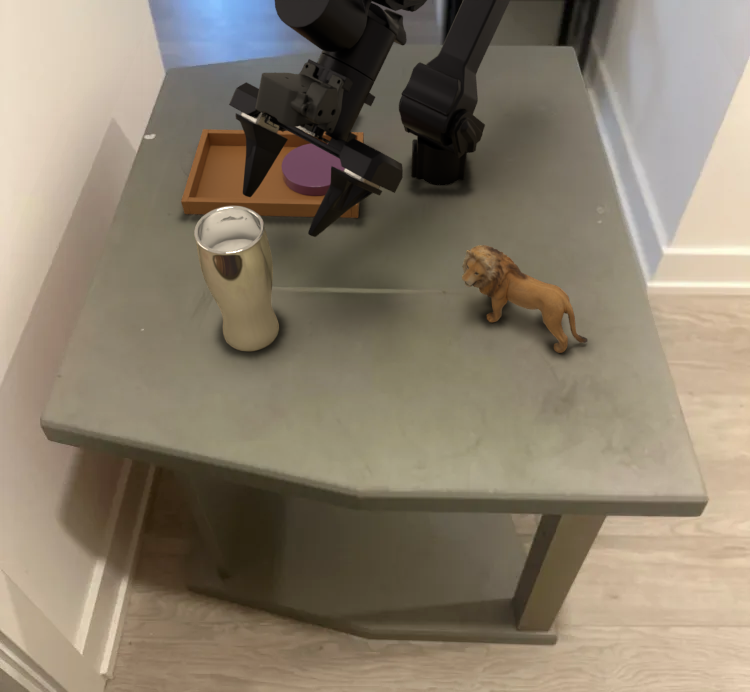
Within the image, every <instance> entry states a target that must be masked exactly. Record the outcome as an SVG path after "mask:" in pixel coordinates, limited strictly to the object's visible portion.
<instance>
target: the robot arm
mask: <svg viewBox="0 0 750 692" xmlns="http://www.w3.org/2000/svg"><path fill="white" fill-rule="evenodd" d="M427 1H428V0H274V8H275V11H276V14H277V16H278V18H279V20H280V21H281V22H282V23H284V24H285V25H286V26H287V27H289V28H290V29H292V30H293V31H294V32H296V33H297V34H299V35H300V36H302V38H304V39H306V40H307V41H308V42H310V43H311V44H312V45H314V46H316V47H317V48H318V49H319V50H321V53H320V54H319V57H318V59H317V61H314V60H312V59H310V58H308V60H307V61H306V62H305V63H304V64H303V65H302V68H301V71H300V72H299V73H292V72H262V73H261V76H260V82H259V86H258V87H257V86H254V85H253V84H251V83H249V82H244V83H242V84H241V85H239V86H237V87H236V88H235V90H234V92H233V94H232V97H231V98H230V101H229V103H228V106H230V107H232V108H233V109H235V110H237V111H239V112H240V114H239V113H237V112H236V113H235V119H236V120H237V121H239V123H240V125H241V127H242V130H244V133H245V136H246V160H245V171H244V182H243V195H245V196H247V197H252V195H253V194H254V193H255V191H256V190H257V189H258V187H259V186H260V185H261V183H262V181H263V180H264V178H265V176H266V175H267V173H268V171H269V170H270V168H271V166H272V165H273V163H274V161H275V160H276V158H277V157H278V155H279V153H280V152H281V150H282V148H283V147H284V145H285V143H286V142H287V140H288V139H287V138H285V137H283V136H281V135H279V134H278V133H277V132H278V130H280V131H282V132H284V131H286V130H287V131H289V132H291V133H293V134H295V135H297V136H299V137H300V138H302V139H304V140H306V141H308V142H310V143H311V144H313V145H315V146H317V147H319V148H321V149H323V150H324V151H326V152H328V153H330V154H332V155H334V156H335V157H337V158H339V159H340V161H341V166H342V167H344V168H345V169H344V171H342V170H339V169H337V168H335V167H333V166H331V183H330V186H329V188H328V190H327V192H326V194H325V196H324V198H323V200H322V202H321V204H320V206H319V208H318V210H317V212H316V214H315V216H314V217H312V218H313V219H312V221H311V224H310V226H309V229H308V232H307V234H308V236H310V237H314V238H316V237H318V236H319V235H320V234H321V233H323V232H324V231H325V230H326V229H327V228H329V227H330V226H331V225H332V224H334V222H336V221H337V220H338V219H340V218H341V217H340V216H341V215H343V214H344V213H345V212H346V211H348V210H349V209H350V208H352V207H353V206H354V205H356V204H357V203H359V204H360V203H361V202H362V201H364V200H365V199H367V198H368V197H370V196H371V195H373V194H375V195H377V196H381V195H382V194H383V190H382V189H380V188H383V189H385V190H387V191H389V192H391V193H394V194H395V193H396V192H397V190H398V188H399V186H400V184H401V181H402V180H403V175H404V173H403V172H404V169H403V163H401V162H400V161H397V160H396V159H394V158H393V157H391V156H389V155H387V154H385V153H383V152H381V151H380V150H378V149H375V148H374V147H372V146H369V145H368V144H366V143H365V142H364V143H362V142H360V141H358V140H356V139H355V138H356V136H357V135H355V134H353V133H351V132H352V129H353V128H354V127H355V126H354V125H355V124H356V122H357V119H358V117H359V115H360V113H361V111H362V109H363V107H364V105H367V106H369V107H372V106H373V103H374V101H375V99H376V95H374V94H372V93H371V91H372V88H373V87H374V84H375V82H376V80H377V78H378V76H379V75H380V72H381V70H382V68H383V65H384V64H385V62H386V60H387V57H388V55H389V54H390V51H391V49H392V47H393V45H394V43H396V44H398V45H400V46H405V45H406V43H407V41H408V40H407V32H406V29H405V26H404V15H402V14H400V13H398V12H397V11H400V10H403V11H405V12H411V13H413V12H416V11H417V10H419V9H420V8H422V7H423V6H424V5H425V4H426V2H427ZM510 2H511V0H462V2H461V4H460V6H459V8H458V11H457V13H456V15H455V17H454V20H453V22H452V24H451V26H450V29H449V30H448V32H447V35H446V37H445V39H444V42H443V44H442V45H441V48H440V51H439V53H438V54H437V55H436V56H434V57H433V58H432V59H431V60H430V61H428V62H427V63H426V64H425V63H423V62H421V61H420V62H418V63H417V64H416V65H415V66H414V67H413V68H412V72H411V74H410V77H409V80H408V82H407V84H406V86H405V87H404V88H403V90H402V92H401V96H400V98H399V102H398V112H399V115H400V121H401V124H402V125H403V128H404V131H405V132H406V133H408V134H412V135H413V136H415V137H416V138H414V139H412V142H411V143H412V145H411V165H410V167H411V168H410V169H411V171H410V173H411V175H410V176H411V177H412V179H413V178H415V179H416V180H422V181H423V182H425V183H427V184H430V185H432V186H443V187H444V186H449V185H452V184H454V183H456V182H458V181H464V180H465V175H466V166H467V158H468V154H472V153H474V152H476V150H477V145H478V143H479V142H481V140H482V137H483V134H484V130H485V128H486V124H485V123H484V122H483V121H481V120H480V119H479V118H477V116H475V114H474V113H475V110H476V107H477V105H478V101H479V98H478V97H479V96H478V85H477V83H478V82H477V74H478V71H479V68H480V67H481V64H482V62H483V60H484V58H485V55H486V53H487V51H488V49H489V47H490V44H491V43H492V40H493V38H494V36H495V34H496V32H497V29H498V27H499V25H500V23H501V21H502V19H503V17H504V15H505V13H506V10H507V9H508V6H509V5H510ZM381 6H382V7H385V8H386V9H383V8H382V7H381ZM305 124H307V125H309V126H311V127H313V128H312V130H311V131H309V130H307V129H306V128H304V126H305ZM313 125H314V126H313ZM325 131H326V133H325V134H326V135H328V136H330V137H332V138H331V140H330V141H329V140H327V139H325V138H323V137H322V136H323V134H324V132H325ZM309 134H310V135H309ZM311 135H312V136H311ZM313 136H314V137H313ZM315 137H316V138H315ZM317 138H318V139H317ZM319 139H320V140H319ZM321 140H322V141H324V142H326V143H327V144H326V143H324V142H322V141H321Z"/></svg>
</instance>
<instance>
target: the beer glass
mask: <svg viewBox="0 0 750 692" xmlns="http://www.w3.org/2000/svg"><path fill="white" fill-rule="evenodd" d="M193 234H194V239H195V243H196V251H197V256H198V257H197V258H198V262H199V267H200V270H201V273H202V276H203V280H204V281H205V284H206V286H207V289H208V290H209V292H210V294H211V296H212V298H213V300H214V301H215V302H216V304H217V307H218V309H219V310H220V313H221V316H222V334H223V338H224V340H225V342H226V343H227V344H228V345H229V346H230V347H231V348H232V349H235V350H237V351H241V352H256V351H260V350H262V349H264V348H266V347H268V346H270V345H271V344H272V343H273V342H274V341H275V340H276V339H277V337H278V334H279V331H280V324H279V320H278V317H277V316H276V313H275V311H274V309H273V305H272V293H273V281H274V280H273V279H274V264H273V256H272V250H271V247H270V242H269V241H270V240H269V237H268V234H267V231H266V227H265V222H264V219H263V218H262V216H260V215H259V214H258V213H257V212H255V211H253V210H252V209H249V208H246V207H242V206H225V207H220V208H217V209H214V210H212V211H210V212H208V213H207V214H203V216H201V218H200V219H199V220H198V221H197V223H196V225H195V227H194V232H193Z"/></svg>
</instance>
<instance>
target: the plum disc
mask: <svg viewBox="0 0 750 692" xmlns="http://www.w3.org/2000/svg"><path fill="white" fill-rule="evenodd" d="M331 166H333V167H335V168H337V169H339V170H342V171H344V169H345V168H344V167H342V166H341V161H340V159H339V158H337V157H335V156H334V155H332V154H330V153H328V152H326V151H324V150H323V149H321V148H319V147H317V146H315V145H313V144H306V145H302V146H299V147H297V148H295V149H293V150H292V151H290V152H289V153H288V154H287V155H286V156H285V157H284V159H283V161H282V166H281V167H282V175H283V180H284V182H285V184H286V185H287V186H288V187H289V188H290V189H291V190H293V191H295V192H297V193H300V194H303V195H308V196H323V195H325V194H326V192H327V190H328V188H329V186H330V183H331Z"/></svg>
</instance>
